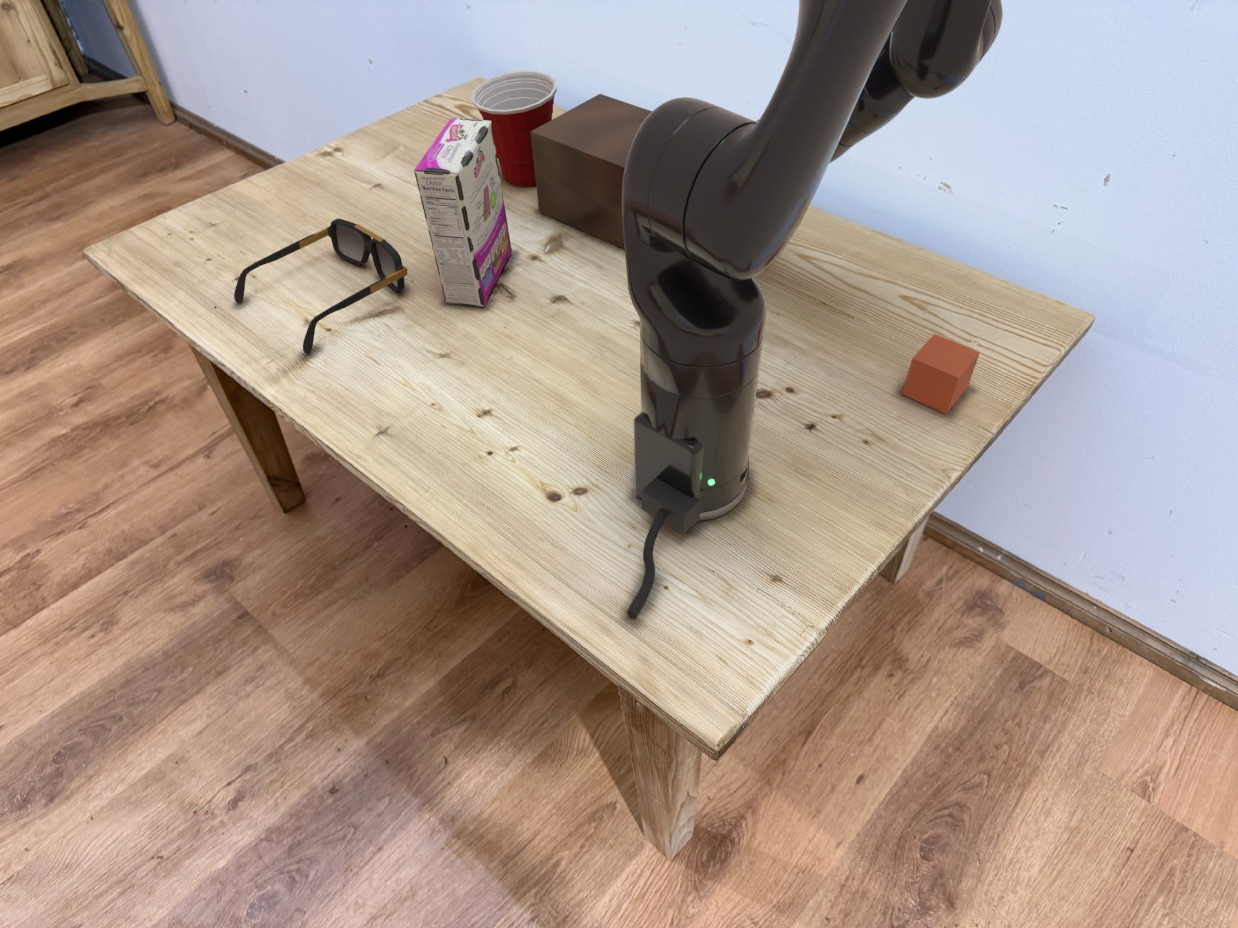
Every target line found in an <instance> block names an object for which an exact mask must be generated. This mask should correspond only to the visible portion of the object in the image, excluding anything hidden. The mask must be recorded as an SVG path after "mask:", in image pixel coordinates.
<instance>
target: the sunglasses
mask: <svg viewBox="0 0 1238 928" xmlns="http://www.w3.org/2000/svg"><path fill="white" fill-rule="evenodd" d="M327 237H329V238H330V241H331V245H332V248H333V251H334V252H335V254H337V256H339V257H340V258H341V259H344V260H346V261H348V262H350V263H353V264H355V265H364V264H367V263H368V261H369V259H370V256H371V259H372V261H373V264H374V267H375V271H376V273H377V275H378V277H379V278H380V279H379V280H377V281H375V282H373V283H371V284H369V285H368V286H366V287H364V288H362V289H360V290H359V291H357V292H355V293H353V294H352V295H350V296H348V297H346V298H344V299H342V300H341V301H340V302H337V303H335V304H334V305H331V306H330V307H328V308H327V309H325V310H323V311H321V312H320V313H319V314H317V315H315V316H314V317H313V318H312V319H311V321H310V323H309V325H308V327H307V330H306V333H305V335H304V338H303V342H302V350H303V352H304V353H305V354H306V355H310V354H311V353H312V351H313V346H314V341H315V334H316V327H317V324H318V322H320V321H321V320H322V319H324V318H326V317H327V316H329V315H331V314H334V313H336V312H338V311H340V310H343V309H346V308H347V307H349V306H351V305H354V304H355V303H357V302H359V301H361V300H363V299H365V298H366V297H368V296H370V295H372V294H374V293H376V292H378V291H380V290H381V289H383V288H385V287H390V288H391V289H392V290H393V291H395V292H399V291H402V290H404V289H405V277H406V276H408V267H407V266H405V265H403V263H402V257H401V256H400V253H399V252H398V251H397V249H395V247H394V246H393V245H392V244H390V242H388V241H387V239H385V238H383V237H382V236H379V235H378V234H377V233H374V232H373V231H371V230H369V229H367V228H365V227H364V226H362V225H361V224H357V223H354V222H352V221H350V220H346V219H342V218H335V219H334V220H332V221H330V225H329V226H327V227H325V228H323V229H321V230H319V231H317V232H315V233H312V234H310V235H307V236H304V237H303V238H301V239H299V240H297V241H295V242H293V243H291V244H289V245H287V246H285V247H283V248H280V249H279V250H277V251H275V252H273V253H271V254H269V255H267V256H265V257H263V258H262V259H259V260H258V261H255V262H254V263H252V264H250V265H249V266H246V267H245V268H244V269H242V271H241V272H240V274H239V276H238V279H237V282H236V285H235V288H234V293H233V298H234V301H235V303H236V304H241V303H243V301H244V299H245V290H246V289H245V288H246V280H247V276H248V274H249V273H250V272H252V271H254V270H256V269H257V268H260V267H261V266H264V265H267V264H270V263H272V262H276V261H278V260H281V259H282V258H284V257H286V256H288V255H290V254H293V253H295V252H297V251H299V250H302V249H304V248H306V247H308V246H309V245H310V246H311V245H312V244H313V243H317V242H318V241H319V240H322V239H324V238H327Z"/></svg>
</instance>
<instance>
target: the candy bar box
mask: <svg viewBox="0 0 1238 928" xmlns="http://www.w3.org/2000/svg"><path fill="white" fill-rule="evenodd" d="M413 172H414V177H415V180H416V181H415V182H416V185H417V189H418V193H419V197H420V202H421V207H422V209H423V214H424V218H425V223H426V226H427V231H428V233H429V234H428V235H429V238H430V241H431V243H430V244H431V247H432V251H433V255H434V260H435V263H436V268H437V272H438V276H439V280H440V284H441V288H442V293H443V298H444V301H445V303H446V304H450V305H454V306H455V305H457V306H471V307H478V308H479V307H480V308H485V306H486V305H487V302H488V300H490V299H489V298H490V297H491V295H492V293H493V290H494V289H495V287H496V285H497V282H498V280H499V279H500V276H501V274H502V273H503V271H504V269H505V267H506V265H507V263H508V260H509V259H510V258H511V255H512V253H513V250H512V243H511V239H510V237H511V236H510V232H509V225H508V220H507V214H506V207H505V200H504V195H503V189H502V183H501V180H502V179H501V176H500V169H499V161H498V158H497V156H496V149H495V143H494V137H493V131H492V123H491V121H487V120H483V119H471V118H466V119H463V118H461V117H454V118H449V119H448V121H447V122H446V124H445V125H444V127H443V128H442V130H441V131H440V133H438V135H437V137H436V138H435V139H434V141H433V142H432V144H431V145H430V146H429V148H428V149H427V151H426V152H425V153H424V155H423V156H422V158H421V159H420V161H419V162H418V163H417V165H416V166H415V167H414V169H413Z"/></svg>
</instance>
